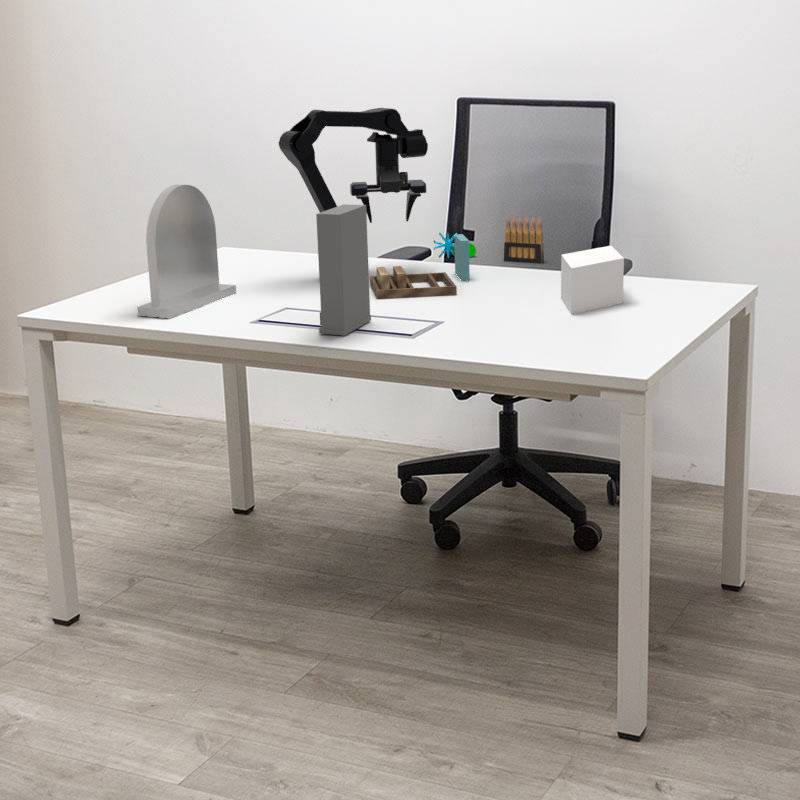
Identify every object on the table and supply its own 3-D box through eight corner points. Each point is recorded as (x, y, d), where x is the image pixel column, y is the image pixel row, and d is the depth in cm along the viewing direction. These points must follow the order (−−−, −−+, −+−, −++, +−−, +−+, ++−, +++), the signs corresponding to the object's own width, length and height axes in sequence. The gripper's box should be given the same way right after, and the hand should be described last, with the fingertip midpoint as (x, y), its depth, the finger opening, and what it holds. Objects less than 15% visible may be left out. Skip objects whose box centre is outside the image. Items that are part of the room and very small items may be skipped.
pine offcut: (381, 296, 293) (380, 275, 291) (377, 287, 302) (376, 267, 301) (389, 295, 293) (389, 274, 291) (385, 287, 302) (384, 266, 301)
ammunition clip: (503, 261, 330) (503, 215, 326) (506, 260, 331) (506, 214, 328) (541, 263, 325) (541, 217, 322) (544, 262, 327) (544, 216, 323)
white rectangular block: (539, 312, 272) (539, 266, 269) (580, 286, 297) (581, 244, 294) (603, 317, 266) (604, 270, 263) (640, 290, 290) (641, 247, 288)
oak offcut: (398, 295, 293) (397, 274, 292) (393, 286, 303) (392, 266, 301) (406, 294, 293) (406, 273, 292) (401, 286, 303) (401, 266, 301)
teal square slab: (461, 281, 306) (460, 241, 303) (455, 273, 315) (454, 234, 313) (469, 281, 306) (469, 240, 303) (462, 273, 316) (462, 234, 313)
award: (205, 291, 303) (196, 177, 295) (236, 293, 299) (228, 178, 291) (136, 316, 279) (124, 192, 271) (169, 319, 275) (158, 193, 267)
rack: (377, 299, 289) (376, 290, 288) (370, 284, 306) (369, 276, 305) (456, 294, 291) (456, 286, 290) (445, 280, 308) (445, 272, 307)
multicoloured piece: (429, 251, 335) (438, 225, 337) (428, 261, 342) (437, 236, 344) (472, 263, 334) (480, 238, 336) (470, 274, 341) (478, 249, 343)
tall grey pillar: (345, 320, 270) (340, 204, 262) (371, 321, 268) (366, 204, 260) (318, 334, 257) (312, 213, 250) (345, 336, 255) (340, 214, 248)
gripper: (352, 164, 302) (354, 228, 306) (428, 161, 304) (429, 225, 308) (348, 159, 313) (351, 221, 317) (422, 157, 314) (424, 218, 319)
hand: (389, 222), depth 315 cm, fingers open, 9 cm apart
